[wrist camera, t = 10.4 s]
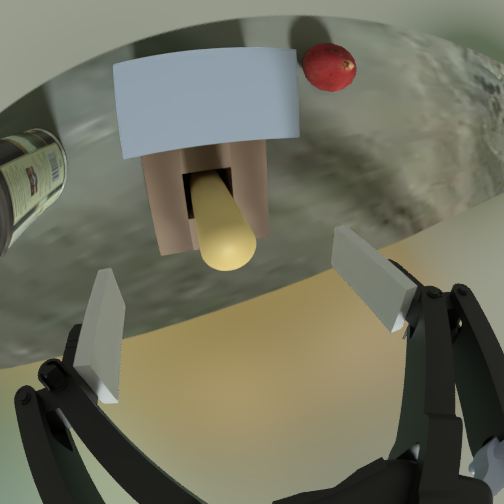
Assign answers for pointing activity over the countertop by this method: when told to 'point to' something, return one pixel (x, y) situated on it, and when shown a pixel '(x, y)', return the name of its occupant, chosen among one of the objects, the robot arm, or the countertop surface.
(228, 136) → the light blue box
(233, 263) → the peg
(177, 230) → the socket block
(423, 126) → the countertop surface
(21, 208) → the coffee can
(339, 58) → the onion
